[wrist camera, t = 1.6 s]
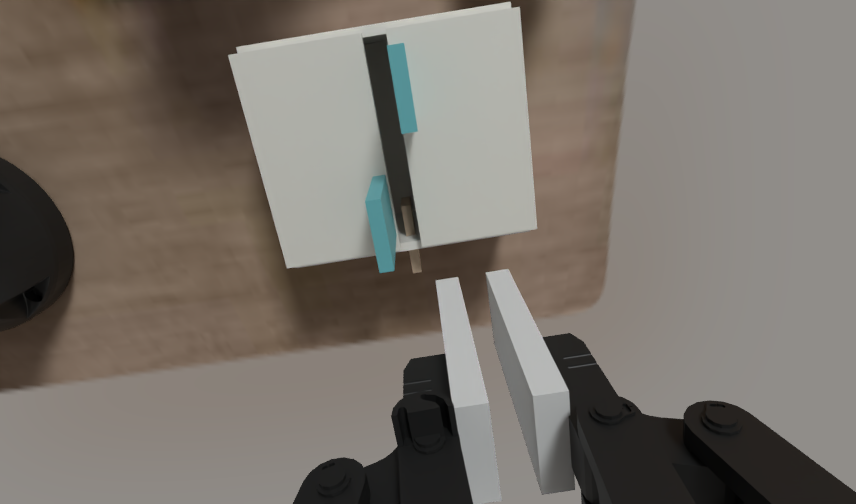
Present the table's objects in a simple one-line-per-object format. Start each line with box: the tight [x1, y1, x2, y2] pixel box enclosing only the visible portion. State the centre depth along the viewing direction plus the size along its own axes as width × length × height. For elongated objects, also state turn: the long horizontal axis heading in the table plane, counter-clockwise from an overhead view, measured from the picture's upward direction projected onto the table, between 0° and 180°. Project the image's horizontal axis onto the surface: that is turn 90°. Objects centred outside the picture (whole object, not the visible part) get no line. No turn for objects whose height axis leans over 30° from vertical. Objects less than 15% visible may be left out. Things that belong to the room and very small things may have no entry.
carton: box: [236, 2, 530, 273], centre depth 35 cm, size 16×16×8 cm
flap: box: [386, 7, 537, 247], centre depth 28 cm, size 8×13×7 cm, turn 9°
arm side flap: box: [228, 33, 401, 273], centre depth 28 cm, size 8×13×7 cm, turn 9°
